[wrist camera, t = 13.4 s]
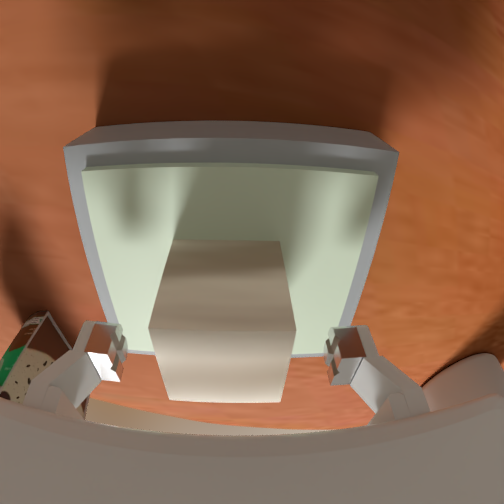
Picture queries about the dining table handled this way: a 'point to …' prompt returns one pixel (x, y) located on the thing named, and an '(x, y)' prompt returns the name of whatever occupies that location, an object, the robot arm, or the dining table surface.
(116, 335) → the robot arm
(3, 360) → the food container
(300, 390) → the dining table surface
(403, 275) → the dining table surface
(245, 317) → the cream block
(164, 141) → the base
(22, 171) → the dining table surface
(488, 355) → the cylinder vase
